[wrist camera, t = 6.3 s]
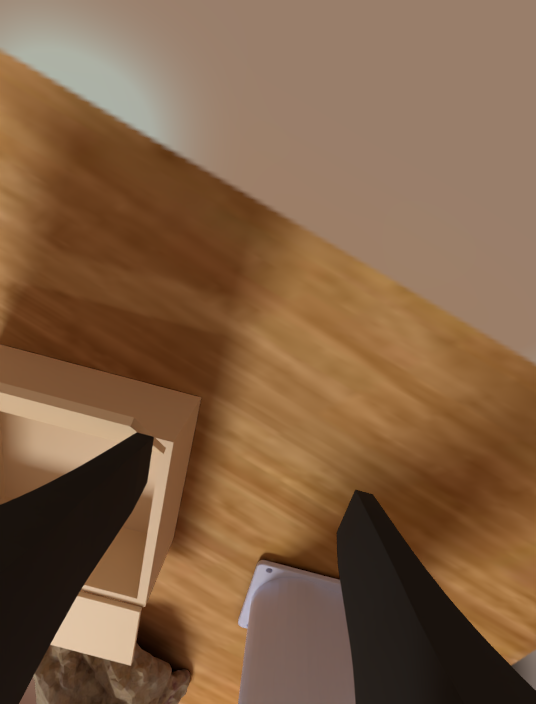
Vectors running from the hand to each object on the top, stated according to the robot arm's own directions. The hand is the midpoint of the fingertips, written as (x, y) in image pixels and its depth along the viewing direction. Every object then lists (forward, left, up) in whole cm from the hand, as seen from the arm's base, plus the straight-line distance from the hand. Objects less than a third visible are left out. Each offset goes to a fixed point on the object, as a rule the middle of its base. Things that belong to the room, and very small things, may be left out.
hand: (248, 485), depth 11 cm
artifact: (+7, +35, -10) cm, 37 cm away
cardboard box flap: (+11, +1, -2) cm, 11 cm away
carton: (+11, +12, -9) cm, 19 cm away
